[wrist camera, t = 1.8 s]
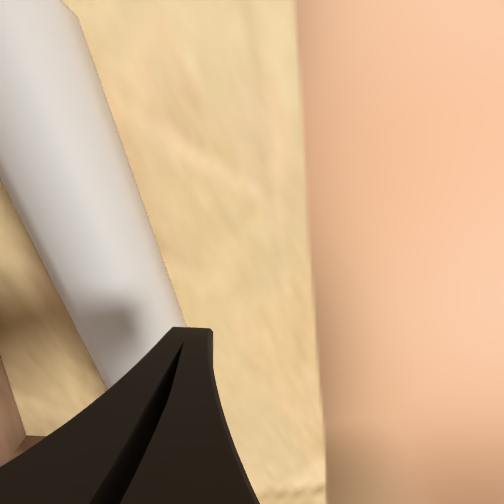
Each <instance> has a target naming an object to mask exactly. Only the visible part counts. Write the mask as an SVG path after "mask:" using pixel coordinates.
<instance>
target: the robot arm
mask: <svg viewBox="0 0 504 504" xmlns="http://www.w3.org/2000/svg"><path fill="white" fill-rule="evenodd" d="M0 504H260V503H259V501H258V499H257V497H256V495H255V493H254V490H253V488H252V486H251V484H250V482H249V479H248V477H247V474H246V472H245V470H244V467H243V465H242V462H241V460H240V458H239V455H238V453H237V451H236V448H235V445H234V442H233V440H232V437H231V434H230V431H229V428H228V425H227V422H226V419H225V416H224V413H223V409H222V406H221V402H220V398H219V394H218V390H217V386H216V381H215V376H214V370H213V331H212V330H211V329H210V328H190V327H172V328H171V329H170V330H169V331H168V332H167V333H166V334H165V335H164V336H163V337H162V338H161V339H160V340H159V341H158V342H157V344H156V345H155V346H154V347H153V348H152V349H151V350H150V351H149V352H148V353H147V354H146V355H145V356H144V357H143V358H142V359H141V360H140V361H139V362H138V363H137V364H136V365H135V366H134V367H133V368H131V369H130V370H129V371H128V372H127V373H126V374H125V375H124V376H123V377H122V378H121V379H119V380H118V381H117V382H116V383H115V384H114V385H113V386H112V387H110V388H109V389H108V390H107V391H106V392H105V393H104V394H102V395H101V396H100V397H99V398H98V399H96V400H95V401H94V402H93V403H92V404H90V405H89V406H88V407H87V408H85V409H84V410H83V411H81V412H80V413H79V414H77V415H76V416H75V417H74V418H72V419H71V420H70V421H68V422H67V423H66V424H64V425H63V426H61V427H60V428H58V429H57V430H56V431H54V432H53V433H51V434H50V435H48V436H47V437H45V438H44V439H42V440H41V441H39V442H38V443H36V444H35V445H33V446H32V447H31V448H29V449H28V450H26V451H25V452H23V453H22V454H20V455H19V456H17V457H15V458H14V459H12V460H11V461H9V462H7V463H6V464H4V465H3V466H1V467H0Z"/></svg>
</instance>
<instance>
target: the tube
mask: <svg viewBox="0 0 504 504" xmlns="http://www.w3.org/2000/svg"><path fill="white" fill-rule="evenodd" d="M0 180H1V182H2V184H3V186H4V188H5V190H6V192H7V194H8V196H9V198H10V200H11V202H12V204H13V206H14V208H15V210H16V212H17V214H18V215H19V217H20V219H21V221H22V223H23V225H24V227H25V229H26V231H27V233H28V235H29V237H30V239H31V241H32V243H33V245H34V247H35V249H36V251H37V253H38V255H39V257H40V259H41V261H42V262H43V264H44V266H45V268H46V270H47V272H48V274H49V276H50V278H51V280H52V282H53V284H54V286H55V288H56V290H57V292H58V294H59V296H60V298H61V300H62V302H63V304H64V306H65V308H66V309H67V311H68V313H69V315H70V317H71V319H72V321H73V323H74V325H75V327H76V329H77V331H78V333H79V335H80V337H81V339H82V341H83V343H84V345H85V347H86V349H87V351H88V353H89V355H90V357H91V358H92V360H93V362H94V364H95V366H96V368H97V370H98V372H99V374H100V376H101V378H102V380H103V382H104V384H105V386H106V388H107V390H108V389H109V388H110V387H112V386H113V385H114V384H115V383H116V382H117V381H118V380H119V379H121V378H122V377H123V376H124V375H125V374H126V373H127V372H128V371H129V370H130V369H131V368H133V367H134V366H135V365H136V364H137V363H138V362H139V361H140V360H141V359H142V358H143V357H144V356H145V355H146V354H147V353H148V352H149V351H150V350H151V349H152V348H153V347H154V346H155V345H156V344H157V342H158V341H159V340H160V339H161V338H162V337H163V336H164V335H165V334H166V333H167V332H168V331H169V330H170V329H171V328H172V327H187V326H186V323H185V320H184V317H183V314H182V312H181V309H180V306H179V303H178V300H177V297H176V295H175V292H174V289H173V286H172V283H171V280H170V278H169V275H168V272H167V269H166V266H165V263H164V261H163V258H162V255H161V252H160V249H159V246H158V243H157V241H156V238H155V235H154V232H153V229H152V226H151V224H150V221H149V218H148V215H147V212H146V209H145V207H144V204H143V201H142V198H141V195H140V192H139V190H138V187H137V184H136V181H135V178H134V175H133V173H132V170H131V167H130V164H129V161H128V158H127V155H126V153H125V150H124V147H123V144H122V141H121V138H120V136H119V133H118V130H117V127H116V124H115V121H114V119H113V116H112V113H111V110H110V107H109V104H108V102H107V99H106V96H105V93H104V90H103V87H102V85H101V82H100V79H99V76H98V73H97V70H96V67H95V65H94V62H93V59H92V56H91V53H90V50H89V48H88V45H87V42H86V39H85V36H84V33H83V31H82V28H81V25H80V22H79V19H78V17H77V16H76V15H75V14H74V13H73V12H72V11H71V10H70V9H69V8H68V7H67V6H66V5H65V4H64V3H63V2H62V1H61V0H0Z"/></svg>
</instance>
